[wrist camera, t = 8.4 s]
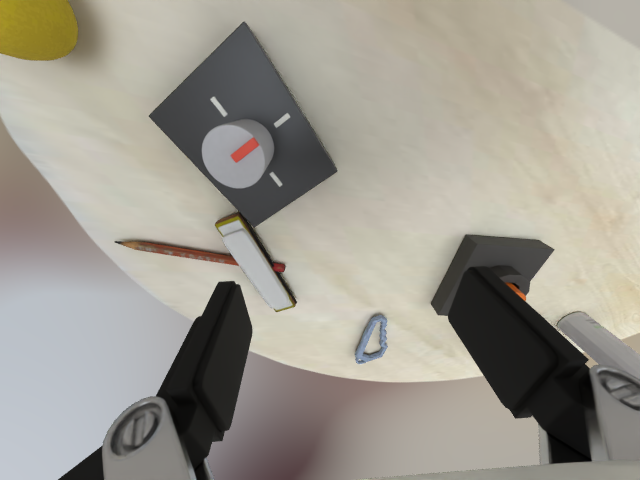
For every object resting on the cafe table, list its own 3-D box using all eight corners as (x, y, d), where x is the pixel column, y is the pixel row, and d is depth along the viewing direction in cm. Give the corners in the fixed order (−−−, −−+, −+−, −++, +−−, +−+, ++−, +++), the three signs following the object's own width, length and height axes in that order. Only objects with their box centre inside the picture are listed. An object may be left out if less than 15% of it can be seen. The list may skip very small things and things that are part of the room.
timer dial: (248, 179, 20) (232, 200, 16) (214, 138, 19) (185, 150, 14) (283, 152, 19) (277, 168, 15) (251, 107, 18) (233, 109, 13)
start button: (493, 281, 27) (504, 292, 26) (520, 283, 28) (532, 293, 26) (479, 302, 29) (488, 313, 28) (504, 304, 29) (515, 314, 28)
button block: (465, 234, 28) (487, 252, 24) (539, 239, 29) (570, 258, 25) (430, 303, 34) (444, 326, 31) (491, 306, 35) (511, 328, 32)
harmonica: (297, 299, 32) (296, 310, 30) (277, 305, 32) (275, 317, 30) (242, 210, 24) (238, 218, 23) (217, 219, 25) (211, 228, 23)
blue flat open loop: (399, 312, 35) (369, 313, 34) (402, 317, 34) (371, 318, 33) (377, 357, 41) (351, 359, 40) (379, 362, 40) (352, 364, 39)
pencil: (286, 263, 28) (285, 267, 28) (284, 269, 29) (283, 274, 28) (116, 235, 25) (110, 240, 25) (118, 243, 26) (112, 248, 25)
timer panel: (165, 114, 20) (146, 116, 17) (251, 30, 17) (243, 19, 15) (258, 216, 25) (253, 228, 23) (335, 164, 23) (338, 171, 20)
